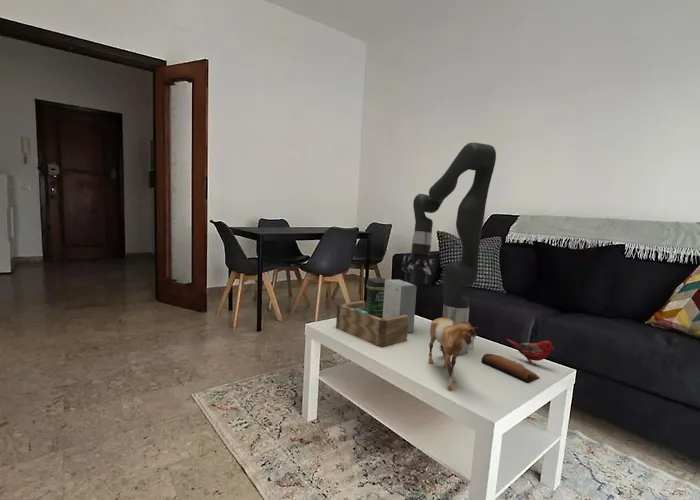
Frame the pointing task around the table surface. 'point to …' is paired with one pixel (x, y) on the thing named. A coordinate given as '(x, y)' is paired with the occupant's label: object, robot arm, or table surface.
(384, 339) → the wooden box
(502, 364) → the sunglasses case
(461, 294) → the robot arm
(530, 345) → the decorative bird figurine
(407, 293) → the hard drive box
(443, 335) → the horse figurine
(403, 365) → the table surface
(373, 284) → the coffee jar
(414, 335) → the table surface
